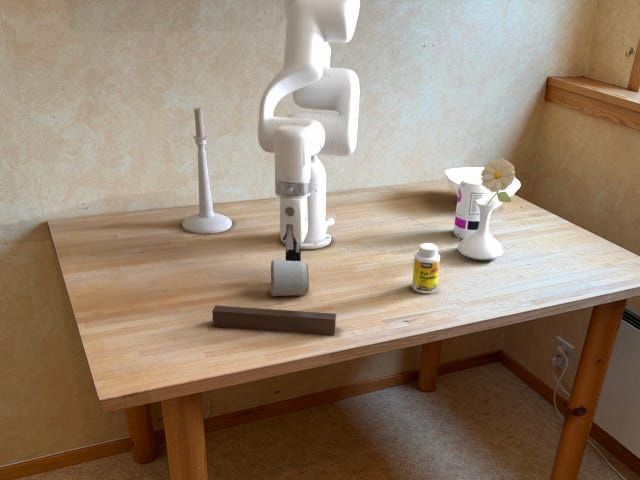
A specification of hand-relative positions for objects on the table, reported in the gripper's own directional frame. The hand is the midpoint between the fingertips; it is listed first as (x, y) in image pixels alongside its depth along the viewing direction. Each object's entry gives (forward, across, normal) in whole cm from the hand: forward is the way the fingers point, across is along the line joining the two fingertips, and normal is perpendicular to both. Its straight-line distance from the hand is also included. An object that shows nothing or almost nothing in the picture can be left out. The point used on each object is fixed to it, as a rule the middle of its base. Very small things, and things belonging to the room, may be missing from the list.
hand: (293, 266), depth 156 cm
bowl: (+2, +60, -47) cm, 76 cm away
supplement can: (+2, +34, -42) cm, 54 cm away
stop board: (+3, -24, 0) cm, 25 cm away
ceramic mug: (+3, -8, 0) cm, 8 cm away
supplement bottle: (+3, -2, -30) cm, 30 cm away
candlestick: (+2, +29, +27) cm, 40 cm away
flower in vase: (+2, +20, -45) cm, 49 cm away
